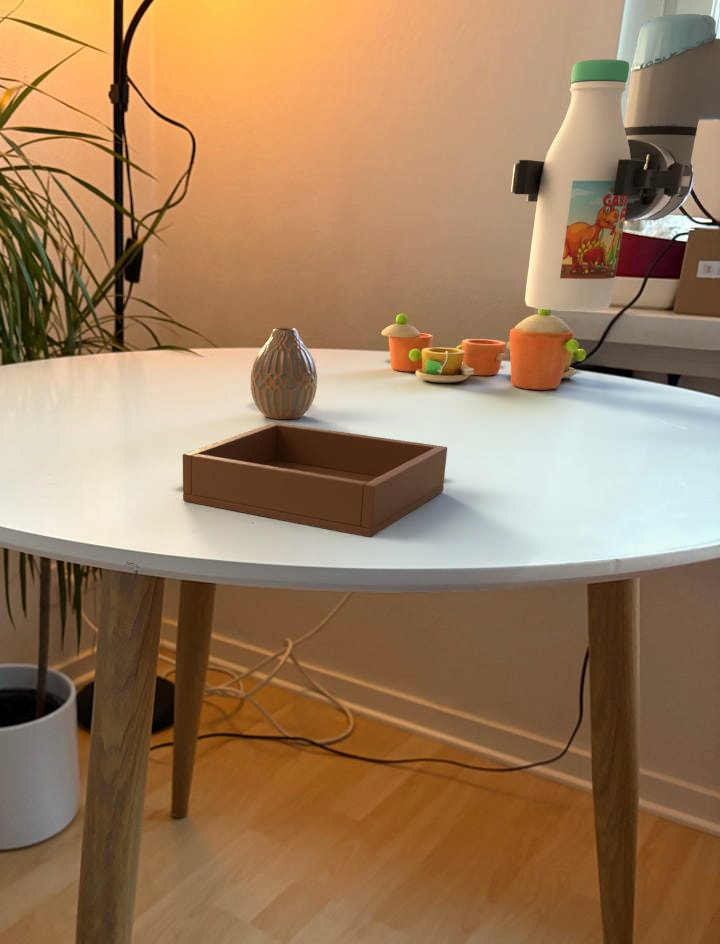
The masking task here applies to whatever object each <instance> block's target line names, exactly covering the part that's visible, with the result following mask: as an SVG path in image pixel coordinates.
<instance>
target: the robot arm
mask: <svg viewBox="0 0 720 944" xmlns="http://www.w3.org/2000/svg"><path fill="white" fill-rule="evenodd" d="M716 26H717V21H716V20H715V18H714V17H713V16H712V15H709V14H708V15H707V14H700V13H676V14H667V15H661V16H655V17H653V18H651V19H649V20H648V21H646V22H645V23H644V24H643V25H642V27H641V28H640V31H639V34H638V38H637V41H636V44H635V50H634V54H633V59H632V60H633V61H632V65H631V67H630V76H629V86H628V93H627V100H626V101H627V102H626V108H625V109H626V110H625V115H624V122H623V124H624V129H625V133H626V137H627V140H628V144H629V149H630V156H631V160H628V159H626V160H619V161H618V167H617V174H616V180H615V187H614V193H613V195H618V196H628V198H627V205H626V212H625V218H624V226H625V227H627V228H632V227H634V226H635V224H636V221H658V220H661V219H664V218H665V217H667V216H669V215H671V214H673V213H674V212H675V211H676V210H678V209H679V208H680V207H681V206H682V205H683V204H684V203H685V202H686V200H687V199H688V197H689V195H690V194H691V191H692V189H693V186H694V178H695V176H694V175H695V174H694V168H693V165H692V156H693V151H694V148H695V142H696V141H695V140H696V136H697V131H698V126H699V122H700V121H720V38H716V37H717V32H716V28H717V27H716ZM544 163H545V161H541V160H534V159H533V160H531V159H519V160H518V163H514V164H513V170H512V180H511V189H510V193H512V194H514V195H526V199H525V201H526V202H533V203H535V202H536V203H537V200H538V193H539V187H540V181H541V175H542V170H543V166H544Z"/></svg>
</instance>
